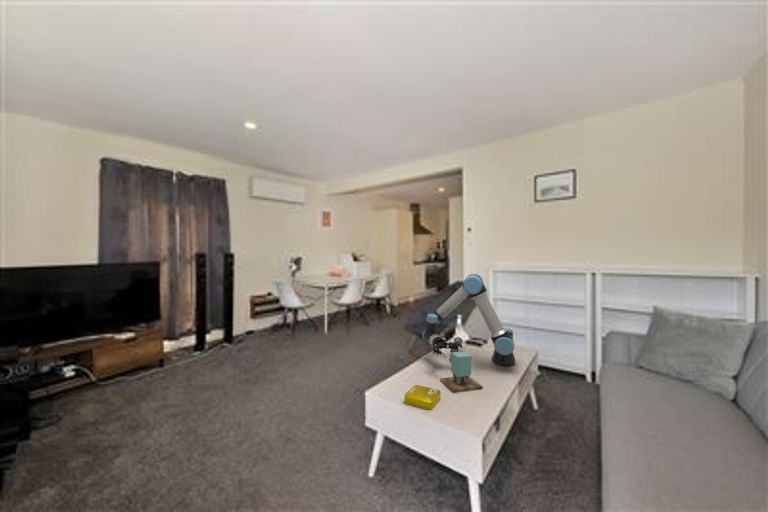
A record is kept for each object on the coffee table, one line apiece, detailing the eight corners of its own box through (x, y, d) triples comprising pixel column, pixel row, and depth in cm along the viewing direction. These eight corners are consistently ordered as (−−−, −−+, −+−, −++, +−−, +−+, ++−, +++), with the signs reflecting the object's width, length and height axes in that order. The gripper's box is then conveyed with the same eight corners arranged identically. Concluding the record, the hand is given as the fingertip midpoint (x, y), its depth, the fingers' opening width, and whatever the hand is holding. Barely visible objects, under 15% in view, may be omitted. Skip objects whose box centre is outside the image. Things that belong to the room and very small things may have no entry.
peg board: (467, 377, 191) (467, 366, 190) (482, 388, 175) (482, 377, 175) (440, 380, 186) (440, 369, 186) (453, 393, 170) (453, 381, 170)
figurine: (466, 358, 223) (466, 337, 222) (461, 363, 213) (461, 341, 212) (454, 356, 227) (454, 335, 227) (448, 361, 217) (448, 339, 217)
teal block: (463, 370, 185) (463, 351, 185) (470, 375, 178) (471, 356, 177) (451, 371, 183) (451, 352, 183) (457, 377, 175) (458, 357, 175)
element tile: (415, 391, 172) (415, 383, 172) (441, 398, 165) (441, 389, 165) (403, 403, 159) (403, 394, 159) (431, 411, 152) (431, 401, 152)
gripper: (453, 345, 215) (472, 357, 195) (420, 349, 206) (436, 362, 186) (453, 334, 214) (472, 345, 194) (420, 338, 205) (436, 350, 186)
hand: (454, 353), depth 190 cm, fingers open, 13 cm apart
